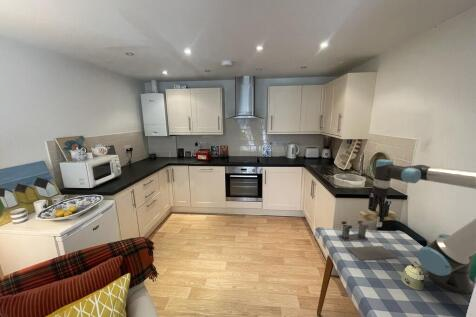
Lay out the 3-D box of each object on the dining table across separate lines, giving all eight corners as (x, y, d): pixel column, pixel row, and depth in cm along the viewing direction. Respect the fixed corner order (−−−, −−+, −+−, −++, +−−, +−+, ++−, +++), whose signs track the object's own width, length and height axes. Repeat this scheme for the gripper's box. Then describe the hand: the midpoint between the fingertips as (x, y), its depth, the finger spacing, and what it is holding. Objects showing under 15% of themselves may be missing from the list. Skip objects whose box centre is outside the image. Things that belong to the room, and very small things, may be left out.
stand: (361, 234, 138) (363, 220, 136) (368, 239, 132) (370, 225, 130) (338, 235, 136) (340, 221, 135) (344, 241, 130) (346, 226, 128)
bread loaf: (389, 216, 117) (390, 210, 117) (395, 219, 113) (396, 213, 113) (358, 217, 115) (359, 211, 114) (363, 221, 111) (364, 214, 111)
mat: (382, 246, 124) (382, 245, 124) (398, 258, 114) (398, 257, 114) (347, 248, 122) (347, 247, 122) (360, 260, 111) (360, 259, 111)
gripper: (363, 182, 119) (359, 218, 123) (387, 191, 102) (381, 232, 106) (375, 182, 120) (370, 217, 124) (400, 191, 103) (394, 232, 107)
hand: (375, 224), depth 115 cm, fingers closed on bread loaf, 4 cm apart
